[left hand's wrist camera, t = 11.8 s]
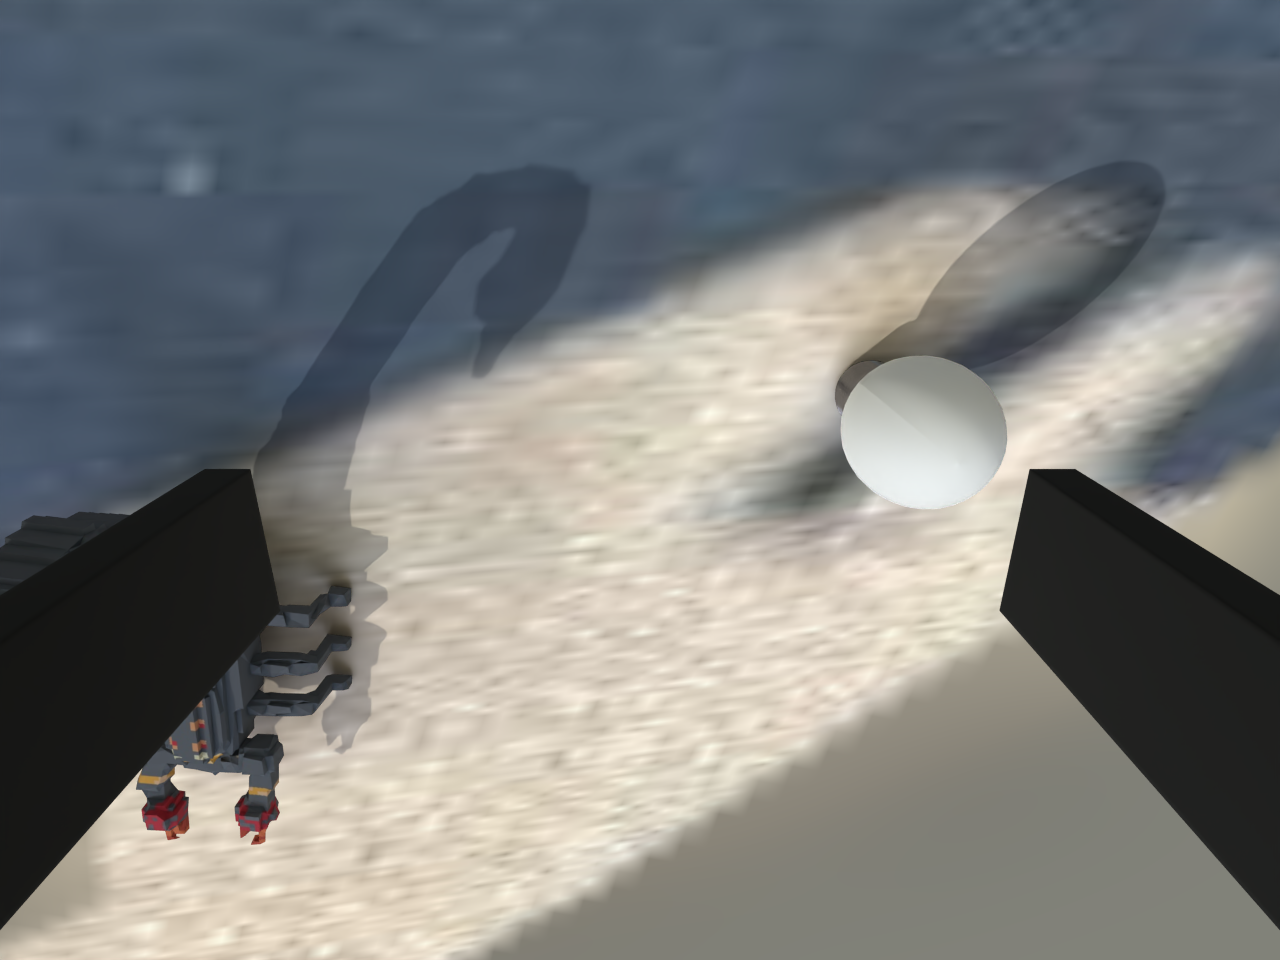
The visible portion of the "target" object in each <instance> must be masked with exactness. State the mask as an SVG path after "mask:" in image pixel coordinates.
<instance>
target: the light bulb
mask: <svg viewBox="0 0 1280 960" xmlns="http://www.w3.org/2000/svg"><path fill="white" fill-rule="evenodd" d="M835 400H836V405H837V408H838V410H839V412H840V414H841V415H842V419H841V437H842V445H843V449H844V452H845V455H846V457H847V460H848V462H849V464H850V465H851V467H852V469H853V470H854V472H855V473H856V475H857V476H858V478H859V479H860V480H861V481H862V482H864V483H865V484H866V485H867V486H868V487H869V488H870V489H871V490H872V491H873V492H875V493H876V494H878V495H879V496H881V497H883V498H884V499H886V500H889V501H891V502H893V503H896V504H899V505H902V506H904V507H910V508H916V509H940V508H945V507H949V506H953V505H955V504H958V503H961V502H963V501H965V500H967V499H968V498H970V497H972V496H973V495H975V494H977V493H978V492H979V491H980V490H982V489H983V488H984V487H985V486H986V485H987V484H988V483H989V482H990V480H991V479H992V478H993V477H994V475H995V473H996V472H997V470H998V468H999V467H1000V465H1001V463H1002V460H1003V457H1004V454H1005V451H1006V445H1007V427H1006V420H1005V417H1004V413H1003V410H1002V407H1001V405H1000V403H999V402H998V400H997V398H996V396H995V395H994V393H993V392H992V390H991V389H990V387H989V386H988V385H987V384H986V383H985V382H984V381H983V380H982V379H981V378H980V377H978V376H977V375H976V374H974V373H973V372H972V371H970V370H969V369H967V368H966V367H964V366H963V365H960V364H958V363H955V362H953V361H950V360H947V359H944V358H940V357H934V356H928V355H927V356H907V357H902V358H898V359H893V360H891V361H889V362H886V363H883V362H880V361H872V360H871V361H863V362H859V363H857V364H855V365H853V366H851V367H850V368H849V369H847V370H846V371H845V372H844V373H843V375H842V376H841V377H840V379H839V381H838V383H837V386H836V391H835Z"/></svg>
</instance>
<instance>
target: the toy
mask: <svg viewBox="0 0 1280 960" xmlns="http://www.w3.org/2000/svg"><path fill="white" fill-rule="evenodd" d="M128 516H130V515H124V514H111V513H110V514H106V513H92V512H89V513H87V512H78V513H76V514H74V515H72V516H70V517H69V518H67V519H66V518H58V517H50V516H45V517H42V516H32V517H30V518H28V519H26V520H24V521H22V526H21V529H20V530H18V531H17V532H15V533H13V534H11V535H9V536H8V537H6V538H5V545H4V546H2V547H1V548H0V595H1V594H3V593H5V592H6V591H8V590H10V589H11V588H13V587H14V586H16V585H18V584H19V583H21V582H23V581H24V580H26V579H27V578H29V577H31V576H32V575H34V574H36V573H37V572H39V571H40V570H42V569H44V568H45V567H47V566H49V565H50V564H52V563H53V562H55V561H57V560H58V559H60V558H61V557H63V556H65V555H66V554H68V553H70V552H71V551H73V550H74V549H76V548H78V547H79V546H81V545H83V544H84V543H86V542H87V541H89V540H91V539H92V538H94V537H96V536H97V535H99V534H100V533H102V532H104V531H105V530H107V529H109V528H110V527H112V526H113V525H115V524H117V523H118V522H120V521H121V520H123V519H125V518H126V517H128ZM350 601H351V588H344V587H336V586H331V588H330V590H329V592H328V594H321V595H320V596H319V597H318V598H317V599H316V600H315V601H314V602H313V603H312V604H311V605H310V606H303V605H287V606H282V605H279V606H280V612H279V613H278V614H277V615H276V616H275V617H274V619H273V620H272V621H271V622H270V623H269V624H268V625H267V626H280V627H301V628H309V627H310V626H311V625H312V623H313V622H314V621H315V620H316V619H317V617H318V616H319V615H320V614H321V613H322V612H324V611H325V610H327V609H328V608H329V607H337V606H348V604H349V603H350ZM350 646H351V637H347V636H339V635H330V634H327V636H326V637H325V639H324V640H323V641H322V643H321V644H320V646H319V647H318V648H317V650H316V651H314V650H311V651H310V652H309V653H308V654H304V653H296V652H263V653H262V651H261V641H260V634H259V636H258V637H257V638H256V639H255V640H254V641H253V642H252V644H251V645H250V646H249V647H248V648H247V649H246V650H245V652H244V653H243V654H242V655H241V656H240V657H239V658H238V660H237V661H236V662H235V663H234V664H233V665H232V666H231V668H230V669H229V670H228V671H227V672H226V673H225V674H224V676H223V677H222V678H221V679H220V680H219V681H218V682H217V683H216V685H215V686H214V687H213V688H212V689H211V690H210V691H209V693H208V694H207V695H206V696H205V697H204V698H203V699H202V701H201V702H200V703H199V704H198V705H197V706H196V707H195V709H194V710H193V711H192V712H191V713H190V714H189V715H188V717H187V718H186V719H185V720H184V721H183V722H182V723H181V725H180V726H179V727H178V728H177V729H176V730H175V731H174V732H173V734H172V735H171V736H170V737H169V738H168V739H167V740H166V742H165V743H164V744H163V745H162V746H161V747H160V748H159V750H158V751H157V752H156V753H155V754H154V755H153V756H152V758H151V759H150V760H149V761H148V762H147V763H146V764H145V766H144V767H143V768H142V771H141V773H140V776H139V778H138V782H137V787H136V790H142V791H143V792H144V794H145V795H146V797H147V803H146V804H145V806H144V807H143V808H142V816H143V822H145V823H146V827H147V830H160V831H165V832H166V835H167V839H168V840H171V839H177V838H179V837H176V834H185V833H186V831H187V830H188V829H189V817H188V802H189V797H185V791H180V790H178V789H177V788H176V787H175V786H174V785H173V784H172V782H171V781H170V779H171V777H172V776H173V775H174V774H175V766H176V765H177V764H178V765H183V766H184V768H190V769H197V770H201V771H206V772H211V773H213V774H214V775H216V774H218V773H219V772H232V773H241V772H242V774H248V775H250V777H249V790H248V792H247V794H246V795H243V796H242V797H241V798H240V800H239V801H238V803H237V804H236V806H235V817H236V821H238V826H240V836H241V838H242V837H244V836H245V835H246V834H247V833H248V832H249V831H256V832H259V835H255V837H254V839H253V841H252V843H251V845H254V844H261V843H263V842H265V832H266V829H267V827H268V825H269V823H270V822H271V821H273V820H277V818H278V815H279V813H280V812H279V810H278V803H279V802H278V800H277V798H276V797H275V787H276V785H277V784H278V783H279V763H280V761H281V759H282V758H283V756H284V752H283V745H282V744H281V743H280V742H279V740H278V735H273V734H257V735H256V736H254V737H253V738H247V737H248V736H249V734H250V733H251V732H252V730H253V729H254V718H255V717H256V715H259V716H306V715H312V714H313V713H314V712H315V711H316V710H317V709H318V707H319V706H320V705H321V704H322V702H323V701H324V700H325V699H326V698H327V696H328V695H329V694H330V693H331V691H332V690H345V689H349V687H350V685H351V684H352V675H336V674H332V675H328V676H326V677H325V679H324V680H323V681H322V682H321V684H320V685H319V686H318V688H317V689H316V690H315V691H312V692H309V693H307V694H292V693H274V692H269V693H264V692H262V691H260V690H259V688H260V687H261V686H262V685H263V683H264V682H263V676H268V677H276V676H280V675H284V674H285V675H296V676H303V675H307V674H312V673H315V672H318V671H319V669H320V668H321V666H322V665H323V663H324V662H325V660H326V659H327V658H328V656H329V655H330V653H331V652H332V651H346V650H348V649H349V648H350Z"/></svg>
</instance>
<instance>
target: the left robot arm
mask: <svg viewBox="0 0 1280 960" xmlns="http://www.w3.org/2000/svg"><path fill="white" fill-rule="evenodd" d="M279 612H280V606H279V602H278V597H277V592H276V587H275V583H274V578H273V573H272V569H271V564H270V559H269V555H268V550H267V545H266V540H265V536H264V531H263V526H262V522H261V517H260V512H259V508H258V503H257V498H256V494H255V489H254V484H253V479H252V475H251V470H250V469H204V470H203V471H201V472H199V473H198V474H196V475H194V476H193V477H191V478H190V479H188V480H186V481H185V482H183V483H182V484H180V485H178V486H177V487H175V488H173V489H172V490H170V491H169V492H167V493H165V494H164V495H162V496H160V497H159V498H157V499H156V500H154V501H152V502H151V503H149V504H147V505H146V506H144V507H143V508H141V509H139V510H138V511H136V512H134V513H133V514H131V515H130V516H128V517H126V518H125V519H123V520H121V521H120V522H118V523H117V524H115V525H113V526H112V527H110V528H109V529H107V530H105V531H104V532H102V533H100V534H99V535H97V536H96V537H94V538H92V539H91V540H89V541H87V542H86V543H84V544H83V545H81V546H79V547H78V548H76V549H74V550H73V551H71V552H70V553H68V554H66V555H65V556H63V557H61V558H60V559H58V560H57V561H55V562H53V563H52V564H50V565H49V566H47V567H45V568H44V569H42V570H40V571H39V572H37V573H36V574H34V575H32V576H31V577H29V578H27V579H26V580H24V581H23V582H21V583H19V584H18V585H16V586H14V587H13V588H11V589H10V590H8V591H6V592H5V593H3V594H1V595H0V930H1V929H2V927H3V926H4V925H5V924H6V923H7V922H8V921H9V919H10V918H11V917H12V916H13V915H14V914H15V913H16V911H17V910H18V909H19V908H20V907H21V906H22V905H23V903H24V902H25V901H26V900H27V899H28V898H29V897H30V895H31V894H32V893H33V892H34V891H35V890H36V889H37V887H38V886H39V885H40V884H41V883H42V882H43V881H44V879H45V878H46V877H47V876H48V875H49V874H50V873H51V872H52V870H53V869H54V868H55V867H56V866H57V865H58V864H59V862H60V861H61V860H62V859H63V858H64V857H65V856H66V854H67V853H68V852H69V851H70V850H71V849H72V848H73V846H74V845H75V844H76V843H77V842H78V841H79V840H80V838H81V837H82V836H83V835H84V834H85V833H86V832H87V831H88V829H89V828H90V827H91V826H92V825H93V824H94V823H95V821H96V820H97V819H98V818H99V817H100V816H101V815H102V813H103V812H104V811H105V810H106V809H107V808H108V807H109V805H110V804H111V803H112V802H113V801H114V800H115V799H116V797H117V796H118V795H119V794H120V793H121V792H122V791H123V789H124V788H125V787H126V786H127V785H128V784H129V783H130V782H131V780H132V779H133V778H134V777H135V776H136V775H137V774H138V772H139V771H140V770H141V769H142V768H143V767H144V766H145V764H146V763H147V762H148V761H149V760H150V759H151V758H152V756H153V755H154V754H155V753H156V752H157V751H158V750H159V748H160V747H161V746H162V745H163V744H164V743H165V742H166V740H167V739H168V738H169V737H170V736H171V735H172V734H173V732H174V731H175V730H176V729H177V728H178V727H179V726H180V725H181V723H182V722H183V721H184V720H185V719H186V718H187V717H188V715H189V714H190V713H191V712H192V711H193V710H194V709H195V707H196V706H197V705H198V704H199V703H200V702H201V701H202V699H203V698H204V697H205V696H206V695H207V694H208V693H209V691H210V690H211V689H212V688H213V687H214V686H215V685H216V683H217V682H218V681H219V680H220V679H221V678H222V677H223V676H224V674H225V673H226V672H227V671H228V670H229V669H230V668H231V666H232V665H233V664H234V663H235V662H236V661H237V660H238V658H239V657H240V656H241V655H242V654H243V653H244V652H245V650H246V649H247V648H248V647H249V646H250V645H251V644H252V642H253V641H254V640H255V639H256V638H257V637H258V636H259V634H260V633H261V632H262V631H263V630H264V629H265V628H266V626H267V625H268V624H269V623H270V622H271V621H272V620H273V619H274V617H275V616H276V615H277V614H278V613H279ZM1000 612H1001V613H1002V614H1003V615H1004V616H1005V617H1006V619H1007V620H1008V621H1009V622H1010V623H1011V624H1012V625H1013V626H1014V628H1015V629H1016V630H1017V631H1018V632H1019V633H1020V634H1021V636H1022V637H1023V638H1024V639H1025V640H1026V641H1027V642H1028V644H1029V645H1030V646H1031V647H1032V648H1033V649H1034V650H1035V652H1036V653H1037V654H1038V655H1039V656H1040V657H1041V658H1042V660H1043V661H1044V662H1045V663H1046V664H1047V665H1048V666H1049V667H1050V669H1051V670H1052V671H1053V672H1054V673H1055V674H1056V676H1057V677H1058V678H1059V679H1060V680H1061V681H1062V682H1063V683H1064V685H1065V686H1066V687H1067V688H1068V689H1069V690H1070V691H1071V693H1072V694H1073V695H1074V696H1075V697H1076V698H1077V699H1078V701H1079V702H1080V703H1081V704H1082V705H1083V706H1084V707H1085V709H1086V710H1087V711H1088V712H1089V713H1090V714H1091V715H1092V717H1093V718H1094V719H1095V720H1096V721H1097V722H1098V723H1099V724H1100V726H1101V727H1102V728H1103V729H1104V730H1105V731H1106V732H1107V734H1108V735H1109V736H1110V737H1111V738H1112V739H1113V740H1114V742H1115V743H1116V744H1117V745H1118V746H1119V747H1120V748H1121V750H1122V751H1123V752H1124V753H1125V754H1126V755H1127V756H1128V758H1129V759H1130V760H1131V761H1132V762H1133V763H1134V764H1135V766H1136V767H1137V768H1138V769H1139V770H1140V771H1141V772H1142V774H1143V775H1144V776H1145V777H1146V778H1147V779H1148V780H1149V782H1150V783H1151V784H1152V785H1153V786H1154V787H1155V788H1156V789H1157V791H1158V792H1159V793H1160V794H1161V795H1162V796H1163V797H1164V799H1165V800H1166V801H1167V802H1168V803H1169V804H1170V805H1171V807H1172V808H1173V809H1174V810H1175V811H1176V812H1177V813H1178V815H1179V816H1180V817H1181V818H1182V819H1183V820H1184V821H1185V823H1186V824H1187V825H1188V826H1189V827H1190V828H1191V829H1192V831H1193V832H1194V833H1195V834H1196V835H1197V836H1198V837H1199V838H1200V840H1201V841H1202V842H1203V843H1204V844H1205V845H1206V846H1207V848H1208V849H1209V850H1210V851H1211V852H1212V853H1213V854H1214V856H1215V857H1216V858H1217V859H1218V860H1219V861H1220V862H1221V863H1222V865H1223V866H1224V867H1225V868H1226V869H1227V870H1228V871H1229V873H1230V874H1231V875H1232V876H1233V877H1234V878H1235V879H1236V881H1237V882H1238V883H1239V884H1240V885H1241V886H1242V888H1243V889H1244V890H1245V891H1246V892H1247V893H1248V894H1249V895H1250V897H1251V898H1252V899H1253V900H1254V901H1255V902H1256V903H1257V905H1258V906H1259V907H1260V908H1261V909H1262V910H1263V911H1264V913H1265V914H1266V915H1267V916H1268V917H1269V918H1270V919H1271V921H1272V922H1273V923H1274V924H1275V925H1276V926H1277V927H1278V929H1279V930H1280V595H1279V594H1277V593H1275V592H1274V591H1272V590H1270V589H1269V588H1267V587H1266V586H1264V585H1262V584H1261V583H1259V582H1257V581H1256V580H1254V579H1253V578H1251V577H1249V576H1248V575H1246V574H1244V573H1243V572H1241V571H1240V570H1238V569H1236V568H1235V567H1233V566H1231V565H1230V564H1228V563H1227V562H1225V561H1223V560H1222V559H1220V558H1218V557H1217V556H1215V555H1214V554H1212V553H1210V552H1209V551H1207V550H1206V549H1204V548H1202V547H1201V546H1199V545H1197V544H1196V543H1194V542H1193V541H1191V540H1189V539H1188V538H1186V537H1184V536H1183V535H1181V534H1180V533H1178V532H1176V531H1175V530H1173V529H1171V528H1170V527H1168V526H1167V525H1165V524H1163V523H1162V522H1160V521H1159V520H1157V519H1155V518H1154V517H1152V516H1150V515H1149V514H1147V513H1146V512H1144V511H1142V510H1141V509H1139V508H1137V507H1136V506H1134V505H1133V504H1131V503H1129V502H1128V501H1126V500H1124V499H1123V498H1121V497H1120V496H1118V495H1116V494H1115V493H1113V492H1111V491H1110V490H1108V489H1107V488H1105V487H1103V486H1102V485H1100V484H1098V483H1097V482H1095V481H1094V480H1092V479H1090V478H1089V477H1087V476H1086V475H1084V474H1082V473H1081V472H1079V471H1077V470H1076V469H1030V470H1029V475H1028V479H1027V484H1026V489H1025V494H1024V498H1023V503H1022V508H1021V512H1020V517H1019V522H1018V526H1017V531H1016V536H1015V540H1014V545H1013V550H1012V555H1011V559H1010V564H1009V569H1008V573H1007V578H1006V583H1005V587H1004V592H1003V597H1002V602H1001V606H1000Z"/></svg>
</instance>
